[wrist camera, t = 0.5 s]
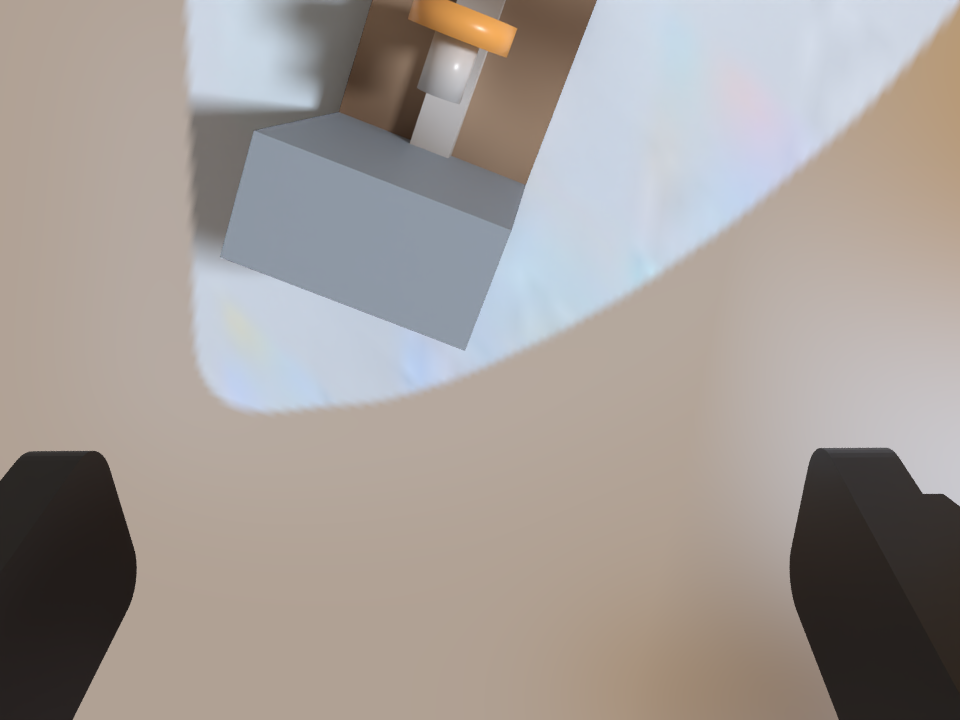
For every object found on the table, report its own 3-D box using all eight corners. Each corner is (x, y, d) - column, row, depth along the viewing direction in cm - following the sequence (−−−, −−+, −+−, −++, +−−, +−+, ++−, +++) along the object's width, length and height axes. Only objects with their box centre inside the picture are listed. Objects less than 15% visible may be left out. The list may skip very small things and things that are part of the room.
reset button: (425, -7, 31) (408, -16, 27) (519, 30, 31) (514, 26, 27) (399, 76, 32) (379, 77, 28) (490, 111, 32) (482, 117, 28)
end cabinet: (334, 110, 34) (247, 128, 25) (525, 184, 35) (511, 230, 25) (306, 204, 36) (213, 254, 26) (490, 275, 36) (465, 350, 27)
